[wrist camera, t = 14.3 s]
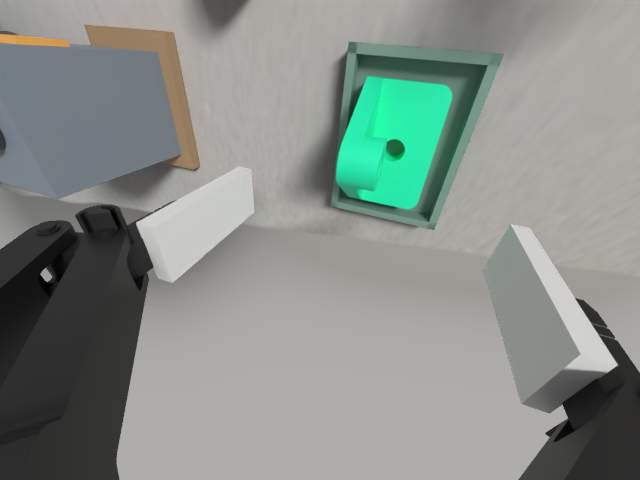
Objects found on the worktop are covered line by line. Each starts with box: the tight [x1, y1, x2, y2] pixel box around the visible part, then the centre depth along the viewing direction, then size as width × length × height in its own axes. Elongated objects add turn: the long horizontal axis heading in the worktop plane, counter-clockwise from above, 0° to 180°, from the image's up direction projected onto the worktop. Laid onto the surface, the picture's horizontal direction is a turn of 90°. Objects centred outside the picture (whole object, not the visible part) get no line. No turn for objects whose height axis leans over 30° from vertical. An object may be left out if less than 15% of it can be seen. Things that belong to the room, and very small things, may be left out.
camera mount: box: [336, 76, 452, 209], centre depth 24 cm, size 12×8×10 cm, turn 176°
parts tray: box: [331, 42, 504, 230], centre depth 27 cm, size 13×17×2 cm
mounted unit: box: [0, 25, 200, 199], centre depth 29 cm, size 12×16×19 cm
